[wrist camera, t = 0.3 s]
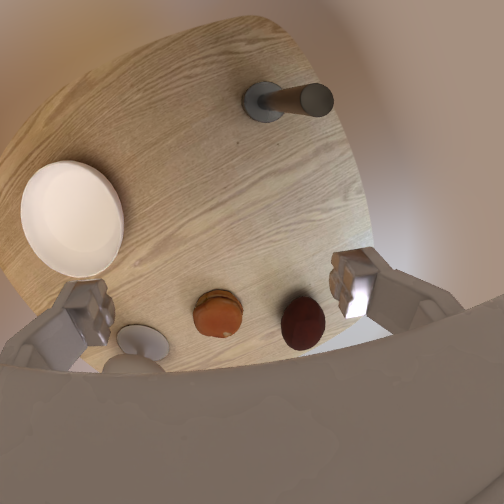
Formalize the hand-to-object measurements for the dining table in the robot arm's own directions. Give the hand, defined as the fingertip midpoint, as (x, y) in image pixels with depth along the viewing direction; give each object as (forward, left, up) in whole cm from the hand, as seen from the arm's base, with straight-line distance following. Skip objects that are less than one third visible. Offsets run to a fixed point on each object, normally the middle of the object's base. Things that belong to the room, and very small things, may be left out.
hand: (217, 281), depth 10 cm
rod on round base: (-6, +7, -35) cm, 36 cm away
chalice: (+40, -20, -35) cm, 57 cm away
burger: (+31, -2, -35) cm, 47 cm away
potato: (+33, +14, -35) cm, 50 cm away
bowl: (+8, -24, -35) cm, 43 cm away
